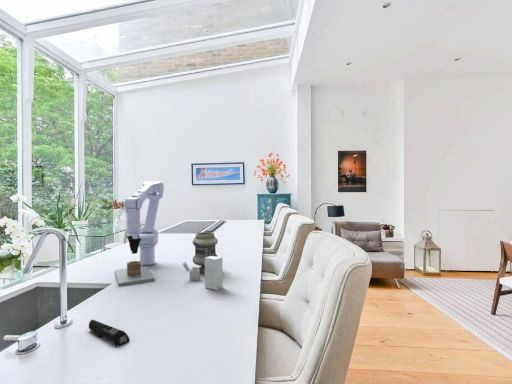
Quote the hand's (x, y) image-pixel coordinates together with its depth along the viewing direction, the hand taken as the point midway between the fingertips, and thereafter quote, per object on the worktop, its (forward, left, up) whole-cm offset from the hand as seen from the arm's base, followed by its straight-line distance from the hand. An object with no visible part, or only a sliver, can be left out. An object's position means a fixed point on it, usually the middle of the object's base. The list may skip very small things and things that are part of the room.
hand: (133, 251), depth 140 cm
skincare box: (+39, +25, -10) cm, 47 cm away
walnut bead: (+8, -1, -8) cm, 11 cm away
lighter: (+25, +20, -10) cm, 33 cm away
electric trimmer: (+61, -14, -10) cm, 64 cm away
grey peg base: (+8, -1, -9) cm, 12 cm away
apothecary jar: (+15, +30, -10) cm, 35 cm away
